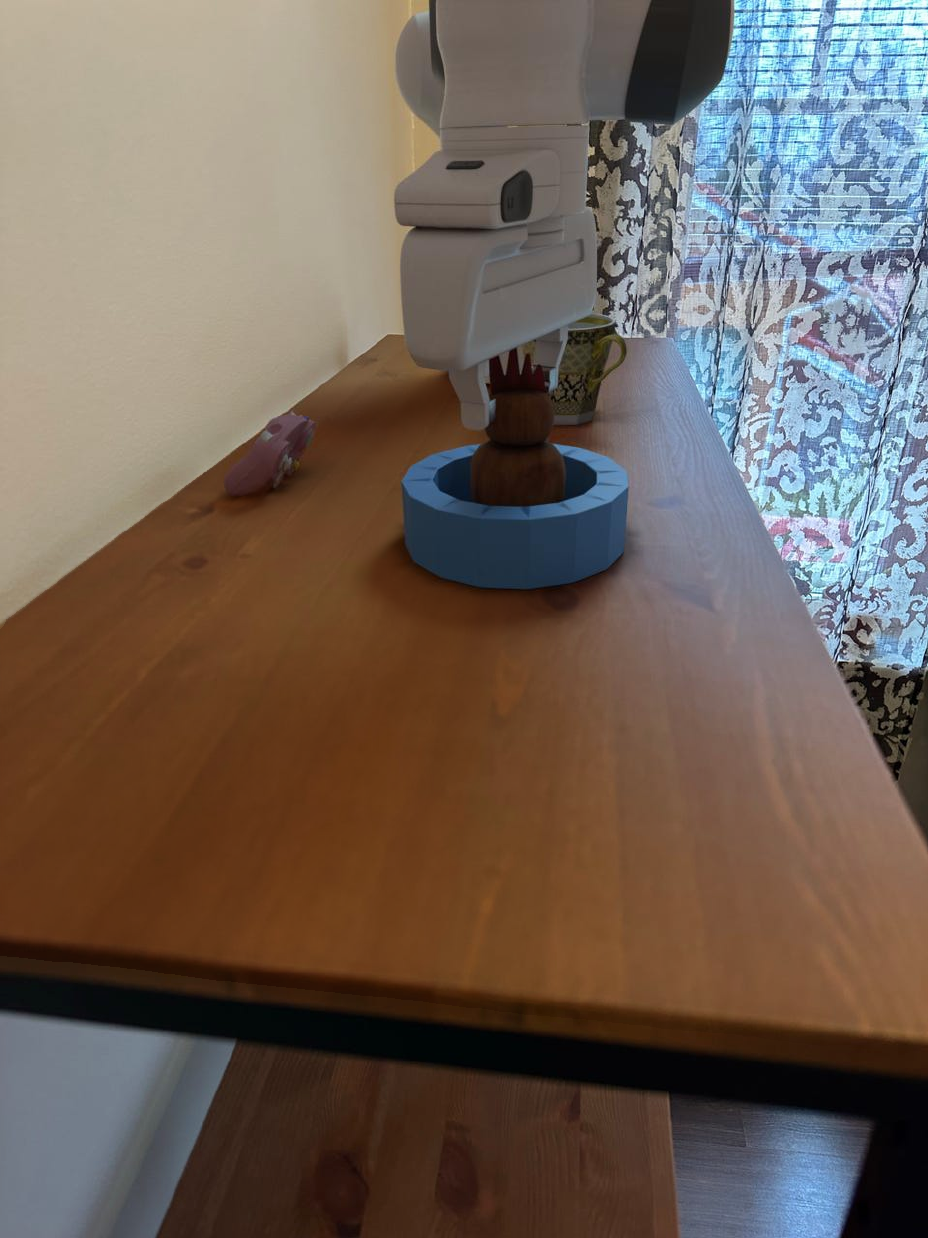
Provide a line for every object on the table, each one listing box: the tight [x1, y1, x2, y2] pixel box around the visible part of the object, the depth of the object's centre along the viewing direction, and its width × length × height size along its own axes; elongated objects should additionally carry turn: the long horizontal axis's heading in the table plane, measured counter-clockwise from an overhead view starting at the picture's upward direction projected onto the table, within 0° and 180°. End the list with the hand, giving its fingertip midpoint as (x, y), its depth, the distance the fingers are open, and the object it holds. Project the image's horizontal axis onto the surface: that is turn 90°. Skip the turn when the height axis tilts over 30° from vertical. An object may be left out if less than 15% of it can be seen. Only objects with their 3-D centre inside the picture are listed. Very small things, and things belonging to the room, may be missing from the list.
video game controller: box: [223, 411, 317, 497], centre depth 73 cm, size 10×5×7 cm, turn 169°
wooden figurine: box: [470, 348, 566, 507], centre depth 58 cm, size 7×6×15 cm
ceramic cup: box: [521, 312, 628, 426], centre depth 87 cm, size 13×10×10 cm
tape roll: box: [400, 443, 630, 590], centre depth 61 cm, size 16×16×5 cm
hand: (512, 408), depth 57 cm, fingers open, 8 cm apart
